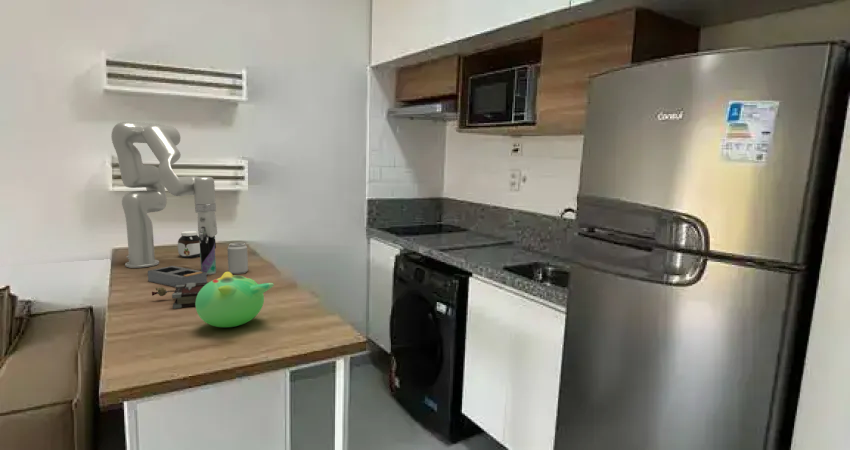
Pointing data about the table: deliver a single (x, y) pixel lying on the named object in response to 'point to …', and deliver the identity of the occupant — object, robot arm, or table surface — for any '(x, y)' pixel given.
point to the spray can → (209, 258)
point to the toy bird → (230, 300)
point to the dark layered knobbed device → (183, 294)
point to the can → (237, 258)
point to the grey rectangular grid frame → (176, 276)
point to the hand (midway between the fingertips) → (208, 251)
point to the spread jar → (189, 244)
